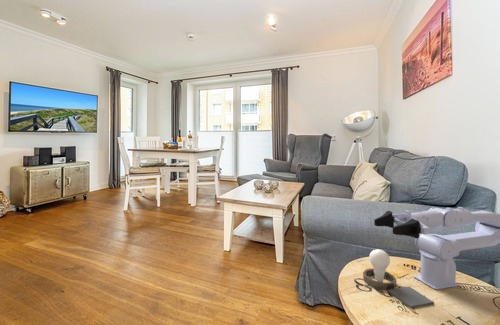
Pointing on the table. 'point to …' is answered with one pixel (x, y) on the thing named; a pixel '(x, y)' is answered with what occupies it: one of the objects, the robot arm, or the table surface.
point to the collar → (379, 284)
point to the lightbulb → (379, 263)
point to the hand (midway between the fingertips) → (383, 226)
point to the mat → (410, 297)
